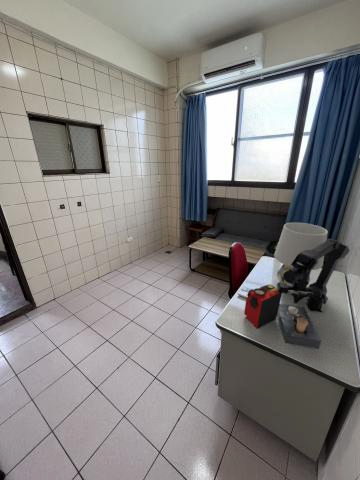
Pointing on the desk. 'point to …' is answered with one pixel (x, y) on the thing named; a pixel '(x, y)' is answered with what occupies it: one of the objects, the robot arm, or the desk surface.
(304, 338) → the panel
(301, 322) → the knob
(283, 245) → the table lamp
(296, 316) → the black and brass dome
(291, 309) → the knob
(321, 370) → the desk surface
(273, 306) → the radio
